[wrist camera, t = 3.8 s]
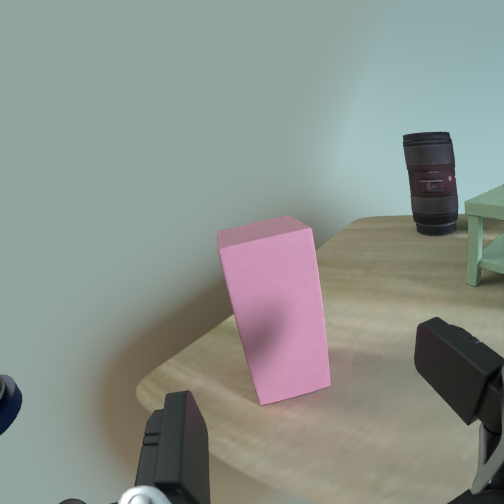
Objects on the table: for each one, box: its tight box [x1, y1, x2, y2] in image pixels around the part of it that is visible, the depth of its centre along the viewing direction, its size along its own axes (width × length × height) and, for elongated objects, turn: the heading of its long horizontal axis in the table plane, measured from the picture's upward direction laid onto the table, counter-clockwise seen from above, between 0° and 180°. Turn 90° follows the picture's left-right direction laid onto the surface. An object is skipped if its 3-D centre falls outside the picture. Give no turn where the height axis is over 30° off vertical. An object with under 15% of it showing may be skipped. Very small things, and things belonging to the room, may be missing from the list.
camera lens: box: [403, 132, 458, 236], centre depth 37 cm, size 8×8×15 cm
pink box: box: [217, 215, 331, 405], centre depth 17 cm, size 4×4×10 cm
